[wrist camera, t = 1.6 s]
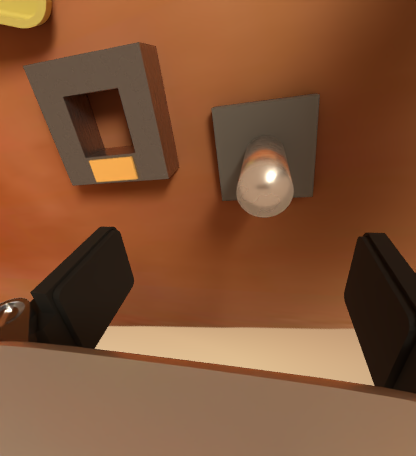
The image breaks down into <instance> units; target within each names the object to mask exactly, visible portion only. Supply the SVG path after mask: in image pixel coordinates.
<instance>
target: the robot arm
mask: <svg viewBox="0 0 416 456" xmlns="http://www.w3.org/2000/svg"><path fill="white" fill-rule="evenodd" d="M133 284H134V278H133V274H132V271H131V267H130V264H129V261H128V257H127V254H126V250H125V247H124V244H123V240H122V237H121V234H120V232H119V231H118V230H117V229H116V228H115V227H100V228H98V229H97V230H96V231H95V232H94V233H93V234H92V235H91V236H90V237H89V238H88V239H87V240H85V241H84V242H83V243H82V244H81V245H80V246H79V247H78V248H77V249H76V250H75V251H74V252H73V253H72V254H71V255H70V256H69V257H67V258H66V259H65V260H64V261H63V262H62V263H61V264H60V265H59V266H58V267H57V268H56V269H55V270H54V271H53V272H52V273H50V274H49V275H48V276H47V277H46V278H45V279H44V280H43V281H42V282H41V283H40V284H39V285H38V286H37V287H36V288H35V289H33V290H32V291H31V292H30V293H31V294H32V296H33V298H34V299H33V300H32V301H31V302H29V300H27V299H25V298H14V299H11V300H7V301H5V302H3V303H0V456H416V273H415V272H414V271H413V270H412V269H411V267H410V266H409V265H408V263H407V262H406V261H405V259H404V258H403V257H402V255H401V254H400V253H399V251H398V250H397V249H396V247H395V246H394V245H393V243H392V242H391V241H390V239H389V238H388V237H387V235H386V234H385V233H365V234H364V235H363V237H358V239H357V243H356V247H355V251H354V255H353V259H352V263H351V267H350V271H349V275H348V280H347V284H346V288H345V292H344V299H345V303H346V306H347V309H348V312H349V315H350V317H351V320H352V323H353V326H354V329H355V332H356V334H357V337H358V340H359V343H360V346H361V348H362V351H363V354H364V357H365V360H366V363H367V365H368V368H369V371H370V374H371V377H372V380H373V382H374V385H375V386H371V385H364V384H358V383H351V382H344V381H337V380H331V379H323V378H317V377H310V376H301V375H294V374H287V373H278V372H272V371H264V370H257V369H249V368H242V367H234V366H226V365H219V364H211V363H203V362H195V361H188V360H180V359H172V358H164V357H156V356H148V355H140V354H132V353H124V352H116V351H107V350H99V349H95V347H96V345H97V344H98V342H99V340H100V339H101V337H102V336H103V334H104V332H105V331H106V329H107V327H108V326H109V324H110V323H111V321H112V319H113V318H114V316H115V314H116V313H117V311H118V310H119V308H120V306H121V305H122V303H123V301H124V300H125V298H126V296H127V295H128V293H129V292H130V290H131V288H132V287H133Z"/></svg>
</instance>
